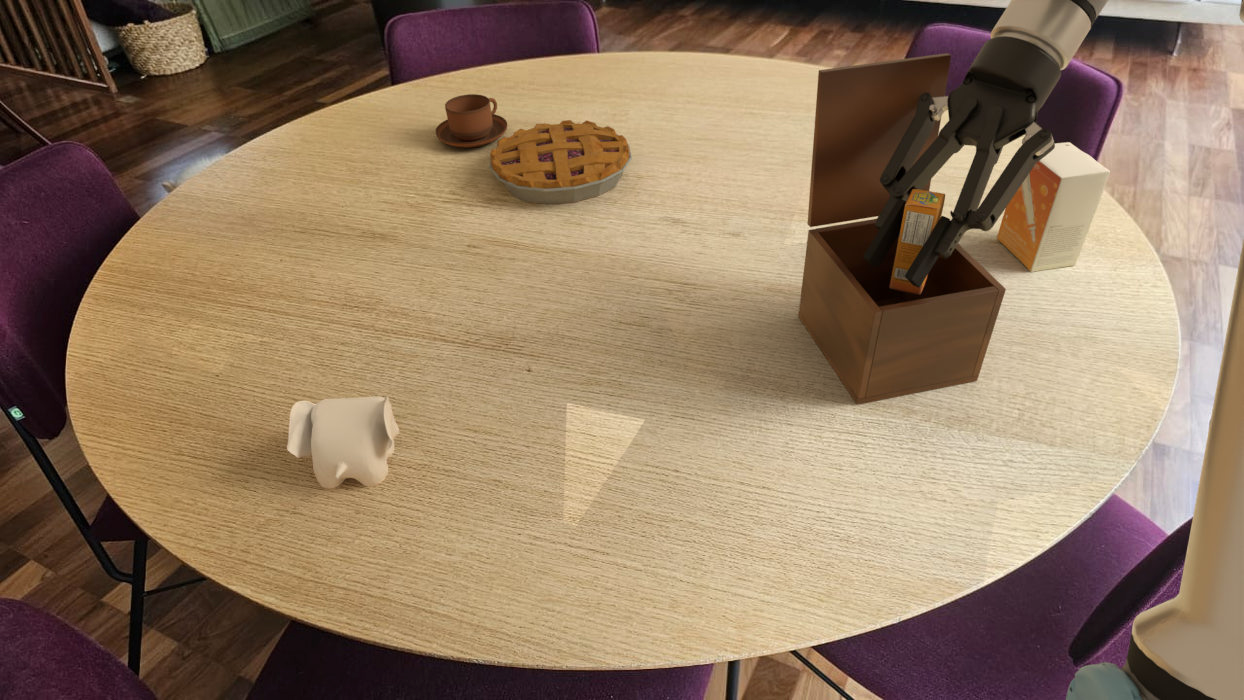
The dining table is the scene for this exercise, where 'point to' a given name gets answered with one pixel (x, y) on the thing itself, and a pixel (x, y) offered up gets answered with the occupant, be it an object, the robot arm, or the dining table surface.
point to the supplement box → (915, 235)
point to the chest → (895, 316)
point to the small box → (1054, 209)
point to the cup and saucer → (471, 122)
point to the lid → (865, 132)
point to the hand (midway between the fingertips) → (891, 271)
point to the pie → (560, 162)
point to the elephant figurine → (344, 438)
